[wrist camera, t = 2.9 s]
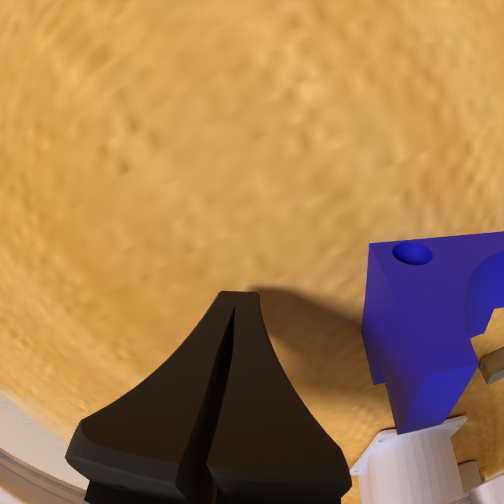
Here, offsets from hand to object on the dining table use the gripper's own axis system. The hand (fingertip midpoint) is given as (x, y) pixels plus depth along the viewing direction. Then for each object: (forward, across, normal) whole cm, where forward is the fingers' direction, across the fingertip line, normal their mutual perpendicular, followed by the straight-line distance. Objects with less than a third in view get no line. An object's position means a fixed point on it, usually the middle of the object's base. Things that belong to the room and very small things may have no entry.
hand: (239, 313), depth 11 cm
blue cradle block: (+2, -11, -1) cm, 11 cm away
